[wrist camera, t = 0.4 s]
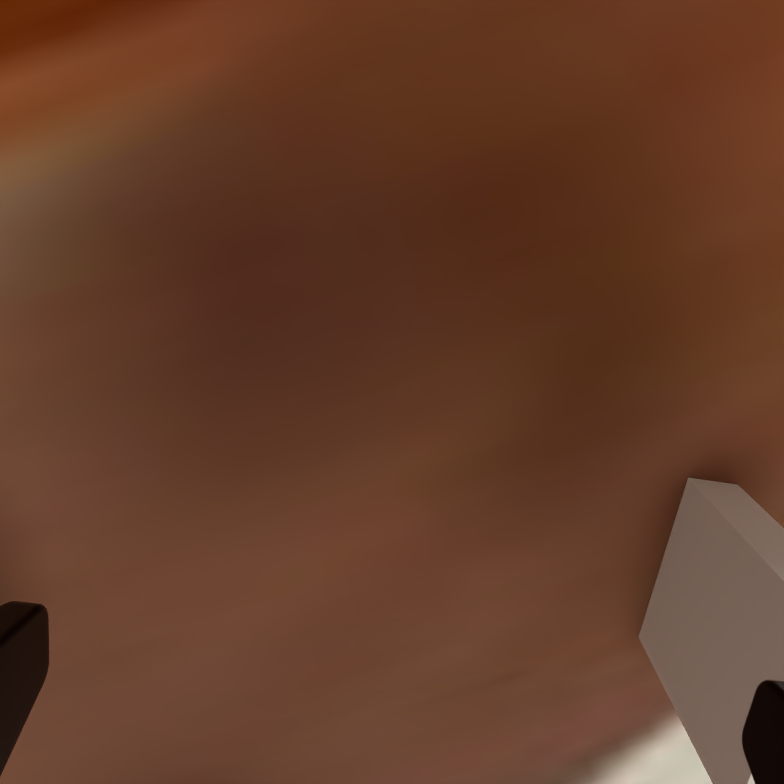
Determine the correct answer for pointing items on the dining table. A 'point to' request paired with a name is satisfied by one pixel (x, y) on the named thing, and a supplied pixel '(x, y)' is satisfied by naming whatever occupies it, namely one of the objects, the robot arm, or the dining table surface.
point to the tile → (718, 619)
